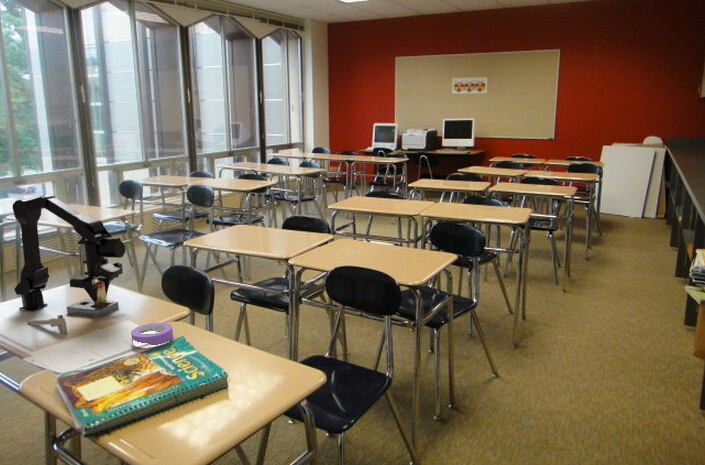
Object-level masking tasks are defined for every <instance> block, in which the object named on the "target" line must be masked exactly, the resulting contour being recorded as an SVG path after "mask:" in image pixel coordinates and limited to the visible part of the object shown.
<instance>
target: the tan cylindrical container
mask: <svg viewBox="0 0 705 465" xmlns="http://www.w3.org/2000/svg"><path fill="white" fill-rule="evenodd" d="M95 283H97V284H98V286H97V287H96V292H97V302H94V307H95V308H103V307H105V306H107V301H108V300H107V296H106V292H105V282H104V281H103V280H98V281H97V280H95Z"/></svg>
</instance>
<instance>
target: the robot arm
mask: <svg viewBox="0 0 705 465" xmlns="http://www.w3.org/2000/svg"><path fill="white" fill-rule="evenodd" d="M42 209H45V210H47V211H49V212H50V213H52V214H53V215H55V216H56V217H58V218H60V219H61V220H63V222H64V221H65V222H66V223H68V224H69V225H71V226H72V227H73V229H74V232H75V233H77V235H79V236H80V237H81V239H80V240H79V241H78V242H77V244H78V245H83V248H84V255H85V259H84V260H82V263H83V264H84V265H86V271H84V275H85V276H83V275H78V276H75V277H72V278H71V279H70V280H69V287H70V288H74V289H75V288H77V289H83V290H84V291H85V292H86V293H87V294H88V296H89V297H90V299H92V300H93V302H97V292H96V287H97V286H98V284H97V283H95V281H98V280H103V281H104V282H105V292H106V297H107V295H108V290H109V287H110V284H111V282H112V281H113V280H115V279H116V278H117V279H118V278H119V276H121V275H122V274H123V272H124V271H123V263H122V261H121V262H120V261H117V262H114V263H113V262H112V263H109V260H108V258H113V259H115V258H117V259H118V258H119V259H121V258H123V257H124V255H125V253H126V245H125V243H124V242H123V241H122V240H121V237H113V236H112V235H111V234H110V232H109V230H107V228H106V226H104V223H103V221H102V220H100V219H98V218H96V217H93V216H89V215H85V214H82V213H80V212H78V211H77V210H76V209H74V208H72V207H70V206H69V205H68V204H66V203H64V202H63V201H61V200H60V199H58V198H57V197H56V196H55V195H54V194H45V195H41V196H39V197H28V198H22V199H17V200H16V201H14V203H13V204H12V212H13V215H14V218H15V219H16V221H17V222H18V224H20V231H21V232H20V234H21V241H22V243H21V244H22V252H23V261H24V265H23V267H22V269H21V271H20V276H19V278H20V279H19V283H18V284H17V285H16V286H15V287H14V292H15V294H16V295H17V296H18V295H19V296H21V302H22V306H20V307H18V308H19V309H18V310H20V309H25V310H24V311H28V310H30V312H33V311H36V310H40V309H41V308H44V307H46V306H48V303H45V301H44V295H43V291H42V290H43V289H45V288H46V286H47V283H48V282H49V281H48V280H49V278H50V275H49V266H44V265H43V263H42V262H41V252H40V240H39V230H38V228H39V227H38V223H39V221H40V218H41V217H42Z"/></svg>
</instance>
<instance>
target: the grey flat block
mask: <svg viewBox="0 0 705 465" xmlns="http://www.w3.org/2000/svg"><path fill="white" fill-rule="evenodd" d="M119 308H120V306H119V301H114V300H107V306H105V307H103V308H95V307H94V302H93V300H92V299H91V298H84V299H82V300H80V301H77V302H75V303H72V304H70V305H67V306H66V312H67V314H69V315H77V316H86V317H92V318H95V317H96V318H102V317H104V316H106V315H108V314H110V313H113V312H114V311H116V310H119Z"/></svg>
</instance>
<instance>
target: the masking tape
mask: <svg viewBox="0 0 705 465" xmlns="http://www.w3.org/2000/svg"><path fill="white" fill-rule="evenodd" d="M148 331H156V332H159V333H155V334H141V333H144V332H148ZM130 334H131V335H130V336H131V340H132V339H133V340H135V341H137V342H141V343H148V344H151V345H158V344H162V343H165V342H168V341H170V340H172V339H173V340H174V332H173V326H172V324H171V323H168V322H151V323H146V324H142V325H139V326H137V327H134V328H133V329H132V330H131V333H130ZM173 340H172V341H173Z"/></svg>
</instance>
